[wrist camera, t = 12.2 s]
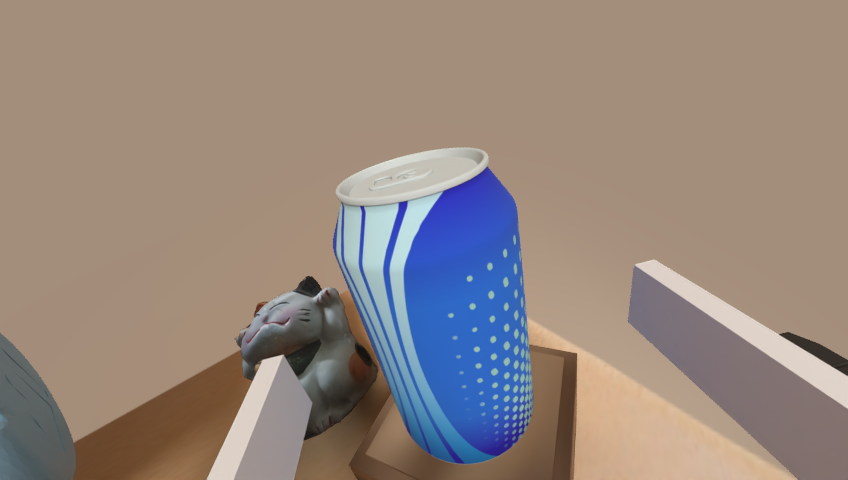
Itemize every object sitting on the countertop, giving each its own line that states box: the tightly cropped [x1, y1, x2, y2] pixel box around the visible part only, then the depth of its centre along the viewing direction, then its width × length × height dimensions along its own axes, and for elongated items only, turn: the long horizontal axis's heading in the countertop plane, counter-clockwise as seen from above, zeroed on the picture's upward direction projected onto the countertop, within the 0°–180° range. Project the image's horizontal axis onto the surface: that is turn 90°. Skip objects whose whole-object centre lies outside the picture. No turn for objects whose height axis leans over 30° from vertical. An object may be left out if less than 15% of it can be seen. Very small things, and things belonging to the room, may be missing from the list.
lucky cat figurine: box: [235, 276, 378, 441], centre depth 31 cm, size 15×12×14 cm
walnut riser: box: [349, 345, 577, 480], centre depth 22 cm, size 12×12×8 cm
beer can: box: [333, 148, 534, 465], centre depth 16 cm, size 8×8×16 cm
